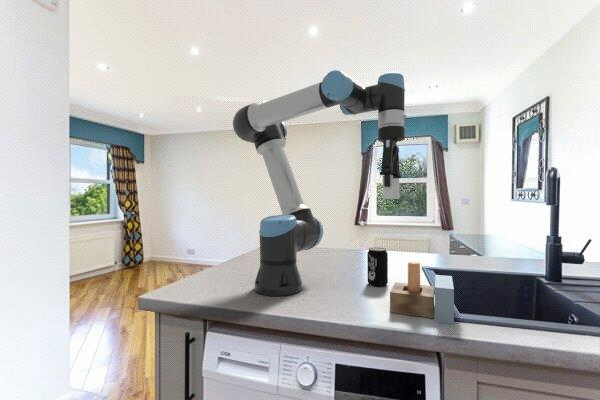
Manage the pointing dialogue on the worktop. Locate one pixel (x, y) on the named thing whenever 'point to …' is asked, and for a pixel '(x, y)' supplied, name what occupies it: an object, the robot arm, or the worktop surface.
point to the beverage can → (377, 267)
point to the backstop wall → (444, 299)
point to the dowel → (414, 276)
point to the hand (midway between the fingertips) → (391, 199)
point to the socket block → (412, 300)
